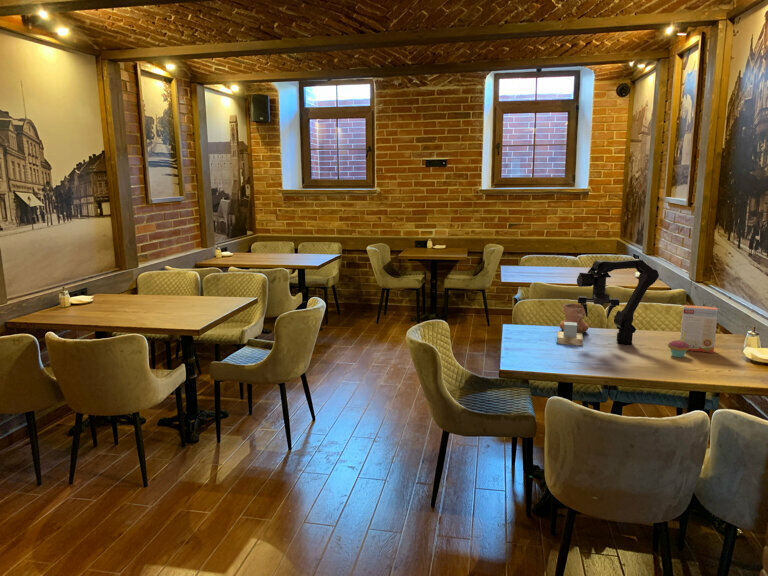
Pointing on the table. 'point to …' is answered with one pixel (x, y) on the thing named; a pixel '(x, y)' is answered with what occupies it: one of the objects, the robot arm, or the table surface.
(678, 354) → the cupcake
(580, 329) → the ceramic jug
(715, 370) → the table surface
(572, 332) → the gray cube
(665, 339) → the table surface
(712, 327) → the cracker box
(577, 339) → the birch board
